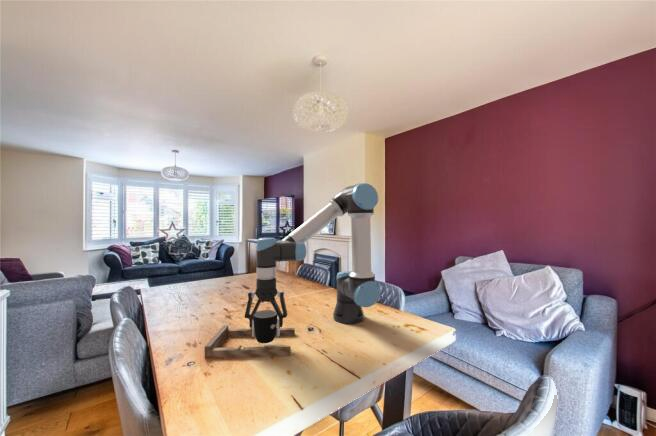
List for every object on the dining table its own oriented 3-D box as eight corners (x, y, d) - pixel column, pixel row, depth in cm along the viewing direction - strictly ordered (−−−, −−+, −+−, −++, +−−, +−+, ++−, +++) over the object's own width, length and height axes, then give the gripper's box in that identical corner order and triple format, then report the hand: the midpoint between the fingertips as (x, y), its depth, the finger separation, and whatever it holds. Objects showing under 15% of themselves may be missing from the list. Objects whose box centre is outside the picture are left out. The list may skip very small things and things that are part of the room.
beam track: (294, 333, 115) (294, 324, 115) (289, 356, 95) (289, 344, 96) (223, 334, 114) (223, 325, 114) (204, 357, 94) (204, 346, 94)
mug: (271, 346, 98) (271, 318, 98) (249, 344, 100) (249, 316, 100) (284, 332, 110) (283, 308, 110) (263, 331, 112) (263, 306, 112)
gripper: (294, 275, 109) (294, 331, 109) (241, 275, 108) (241, 331, 108) (293, 279, 102) (293, 339, 101) (235, 279, 101) (235, 340, 101)
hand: (266, 335), depth 105 cm, fingers closed on mug, 9 cm apart
